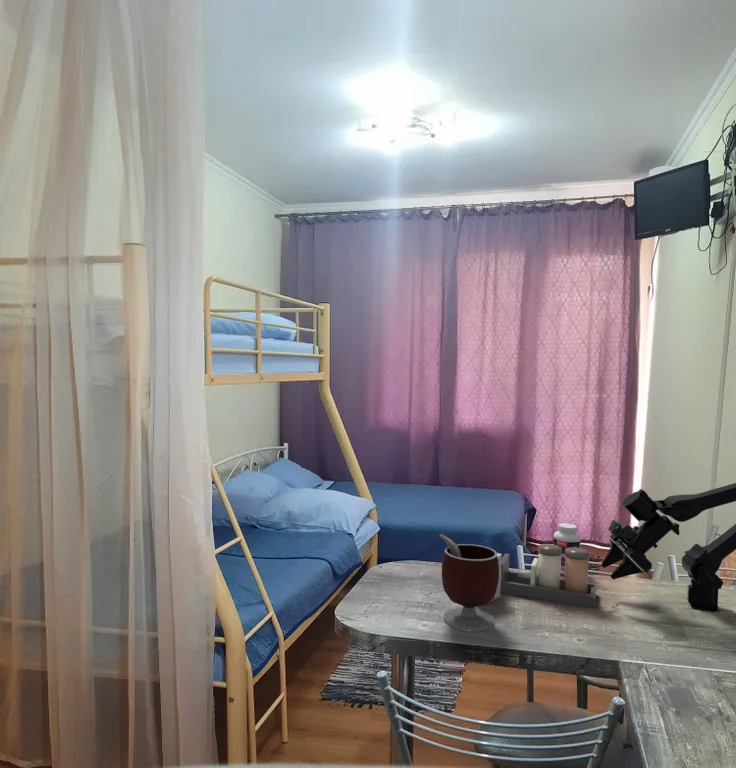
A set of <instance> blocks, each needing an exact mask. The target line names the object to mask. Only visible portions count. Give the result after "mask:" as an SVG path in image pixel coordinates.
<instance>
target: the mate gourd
mask: <svg viewBox="0 0 736 768" xmlns="http://www.w3.org/2000/svg"><path fill="white" fill-rule="evenodd" d="M439 538H441V539H442V540H444V542H445V543H446V545H447V547H445V548H444V553H443V555H442V556H443V557H442V560H441V561H442V563H441V581H442V587H443V591H444V593H445V594H446V595H447V597H448V599H449V600H450V601H451V602H453V603H455V604H457V605H459V606H461V607H456V608H452V609H449V610H447V611H446V612H444V614H443V621H444V623H446V625H448V626H449V627H451V628H453V629H456V628H457V630H459V629H463V630H462V631H464V630H471V631H470V632H482V631H481V630H483V631H486V630H485V629H487V630H489V628H490V629H491V628H493V626H494V625H495V619H494V616H493V615H491V614H490V613H489V612H486V611H484V610H482V609H481V610H480V609H476V608H477V607H482V606H485V605H487V604H488V603H489V602H490V601H491V599H492V598H493V597H494V596H495V594H496V591H497V587H498V581H499V564H498V558H497V553H498V551H496V550H495V549H493V548H491V547H487V546H484V545H479V544H473V543H471V544H470V543H460V544H459V543H458V544H456V542H454V541H453V540H452V539H450V538H449V537H447V536H446V535H443V533H440V534H439ZM479 630H480V631H479Z"/></svg>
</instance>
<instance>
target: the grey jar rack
mask: <svg viewBox="0 0 736 768" xmlns="http://www.w3.org/2000/svg"><path fill="white" fill-rule="evenodd" d="M517 572H518V571H513V570H510V553H504V555H502V559H501V585H500V594H507V595H513V596H517V597H523V598H524V597H525V598H532V599H537V600H543V601H550V602H556V603H561V604H567V605H568V604H569V605H575V606H580V607H581V606H582V607H587V608H592V607H593V609H594V608H596V598H597V585H595V583H594V582H588V591H587V594H585V593H579V592H572V591H566V590H564V582H565V578H561V577H560V590H559V589H553V588H546V587H540V586H533V585H530V583H531V579H528V578H521V577H517ZM537 585H538V575H537Z"/></svg>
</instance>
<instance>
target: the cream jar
mask: <svg viewBox="0 0 736 768" xmlns="http://www.w3.org/2000/svg"><path fill="white" fill-rule="evenodd" d="M537 551H538V555H537V556H538V585H537V586H540V587H546V588H553V589H559V590H560V578H561V575H562V574H561V554H562V548H561V547H560V546H557V545H553V543H552V544H551V543H542V544H541V543H540V544H538V549H537Z"/></svg>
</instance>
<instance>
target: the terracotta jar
mask: <svg viewBox="0 0 736 768" xmlns="http://www.w3.org/2000/svg"><path fill="white" fill-rule="evenodd" d="M589 560H590V551H589V550H588V549H585V548H582V547H580V548H576V547H569V548H566V549H565V575H564V579H565V582H564V590H566V591H572V592H579V593H585V594H587V591H588V583H589V563H590V562H589Z"/></svg>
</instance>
